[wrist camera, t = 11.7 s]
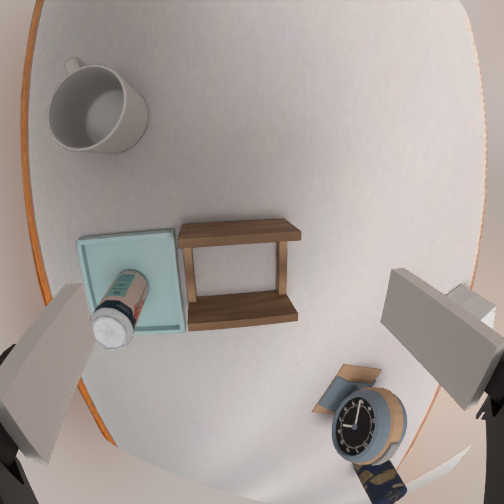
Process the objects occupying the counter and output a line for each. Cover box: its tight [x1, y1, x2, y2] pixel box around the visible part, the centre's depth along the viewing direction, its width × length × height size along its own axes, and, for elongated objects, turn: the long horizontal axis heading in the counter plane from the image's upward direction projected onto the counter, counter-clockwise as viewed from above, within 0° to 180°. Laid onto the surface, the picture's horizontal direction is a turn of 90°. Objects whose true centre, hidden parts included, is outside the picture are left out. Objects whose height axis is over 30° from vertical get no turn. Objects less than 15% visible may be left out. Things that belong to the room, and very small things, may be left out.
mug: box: [47, 57, 148, 153], centre depth 25 cm, size 12×8×11 cm
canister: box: [354, 460, 407, 504], centre depth 54 cm, size 10×10×18 cm
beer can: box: [90, 270, 149, 350], centre depth 32 cm, size 5×5×12 cm
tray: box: [76, 229, 186, 335], centre depth 37 cm, size 14×13×2 cm
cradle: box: [178, 219, 301, 331], centre depth 36 cm, size 11×13×7 cm
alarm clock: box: [312, 364, 407, 466], centre depth 42 cm, size 14×10×18 cm
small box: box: [446, 284, 496, 329], centre depth 44 cm, size 8×6×10 cm
